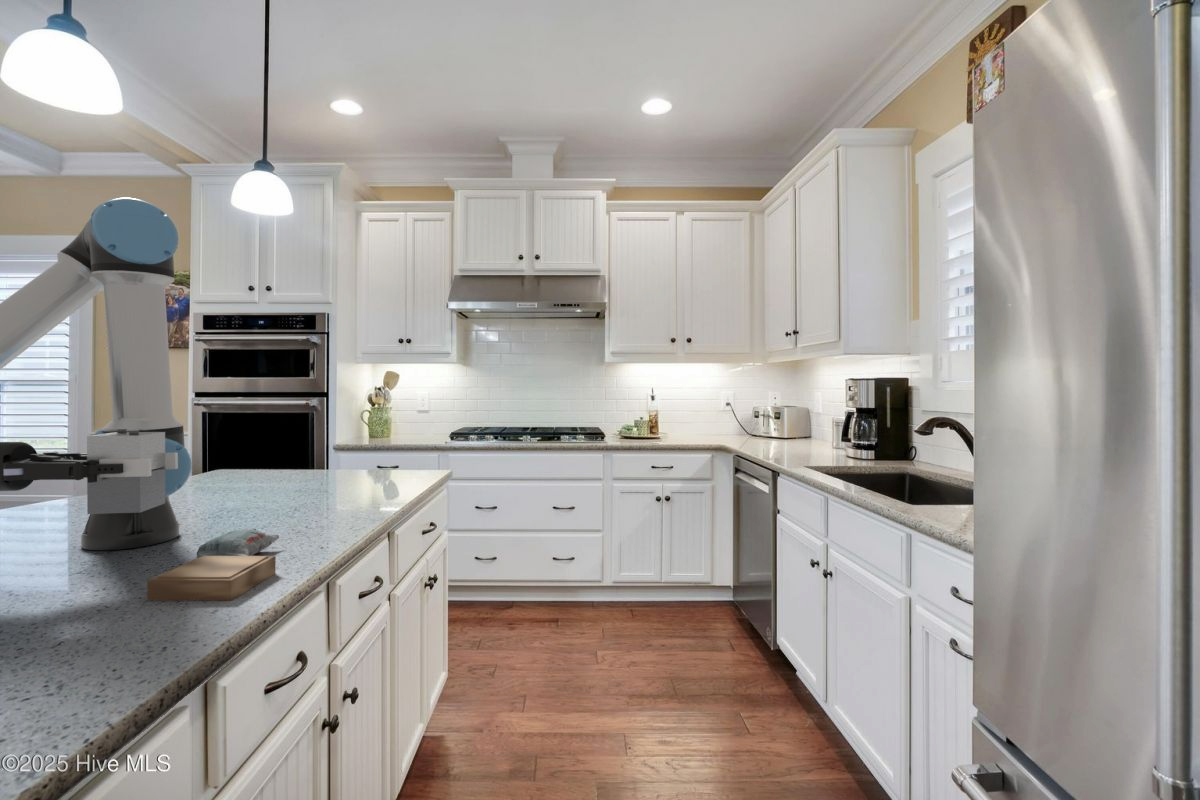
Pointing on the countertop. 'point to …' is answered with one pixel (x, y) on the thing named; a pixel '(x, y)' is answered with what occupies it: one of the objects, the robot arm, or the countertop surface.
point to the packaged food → (237, 543)
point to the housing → (127, 490)
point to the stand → (211, 578)
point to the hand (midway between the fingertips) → (163, 463)
